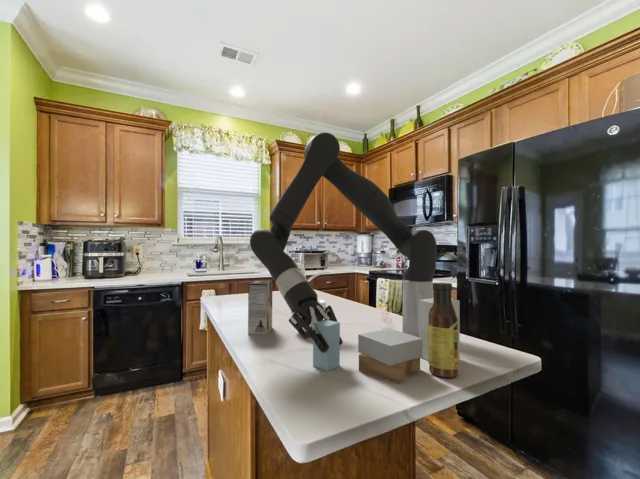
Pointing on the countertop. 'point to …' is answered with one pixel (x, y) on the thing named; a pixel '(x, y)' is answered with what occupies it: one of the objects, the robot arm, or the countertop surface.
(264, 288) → the coffee box
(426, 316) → the skincare box
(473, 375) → the countertop surface
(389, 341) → the block top
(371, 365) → the block bottom
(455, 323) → the sauce bottle
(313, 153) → the robot arm
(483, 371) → the countertop surface
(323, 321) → the blue block
